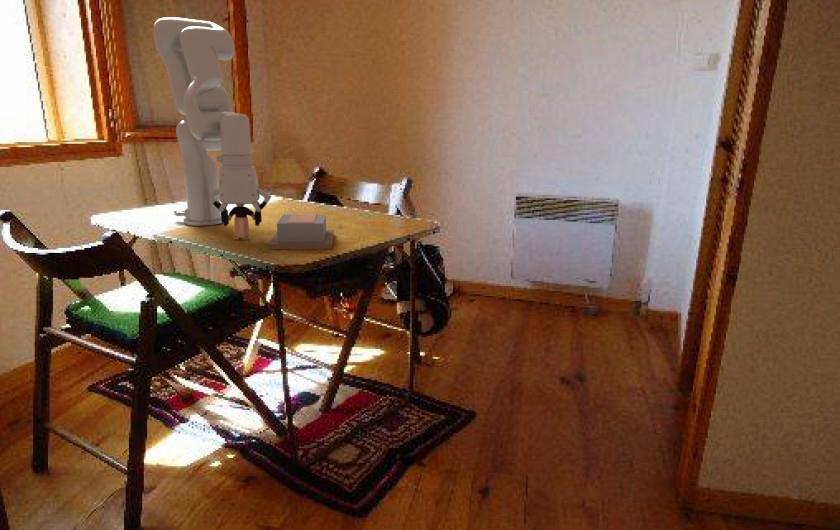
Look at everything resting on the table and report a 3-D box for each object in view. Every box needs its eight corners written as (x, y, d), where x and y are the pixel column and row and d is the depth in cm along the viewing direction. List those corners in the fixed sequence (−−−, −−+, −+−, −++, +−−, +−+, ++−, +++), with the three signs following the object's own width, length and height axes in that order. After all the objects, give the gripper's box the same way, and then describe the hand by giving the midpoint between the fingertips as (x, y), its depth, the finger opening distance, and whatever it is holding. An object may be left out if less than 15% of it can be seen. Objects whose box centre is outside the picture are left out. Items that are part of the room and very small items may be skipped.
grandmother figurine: (228, 241, 149) (224, 195, 145) (229, 237, 152) (225, 193, 149) (257, 239, 151) (254, 194, 147) (257, 236, 154) (254, 192, 151)
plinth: (269, 249, 141) (267, 224, 139) (278, 235, 156) (276, 212, 154) (331, 249, 143) (330, 224, 141) (333, 234, 158) (333, 212, 156)
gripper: (199, 162, 141) (206, 228, 146) (268, 163, 143) (271, 227, 148) (207, 159, 148) (213, 222, 153) (272, 160, 150) (276, 222, 155)
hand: (242, 224), depth 150 cm, fingers closed on grandmother figurine, 7 cm apart
